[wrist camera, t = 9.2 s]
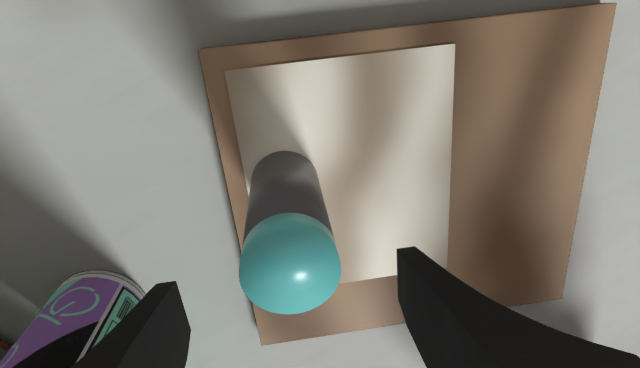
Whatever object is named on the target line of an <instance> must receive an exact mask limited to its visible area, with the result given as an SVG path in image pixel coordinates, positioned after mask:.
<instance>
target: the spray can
mask: <svg viewBox="0 0 640 368" xmlns="http://www.w3.org/2000/svg"><path fill="white" fill-rule="evenodd" d="M144 296H145V293H144V292H143V290H142V289H141V288H140V287H139V286H138V285H137V284H136V283H134V282H133V281H132V280H130V279H128V278H126V277H124V276H122V275H120V274H117V273H114V272H109V271H103V270H92V271H84V272H81V273H78V274H75V275H73V276H71V277H69V278H68V279H66V280H65V281H64V282H63V283H62V284H61V285H60V286H59V287H58V288H57V289H56V291H55V292H54V293H53V295H52V296H51V297H50V298H49V300H48V301H47V302H46V304H45V305H44V306H43V307H42V309H41V310H40V311H39V313H38V314H37V315H36V316H35V318H34V319H33V320H32V322H31V323H30V324H29V325H28V327H27V328H26V329H25V331H24V332H23V333H22V334H21V336H20V337H19V338H18V340H17V341H16V342H15V343H14V345H13V346H12V347H11V349H10V350H9V351H8V352H7V354H6V355H5V356H4V358H3V359H2V360H1V361H0V368H71V367H72V366H73V365H74V364H75V363H76V362H78V361H79V360H80V359H81V358H82V357H83V356H84V355H86V354H87V353H88V352H89V351H90V350H91V349H92V348H93V347H94V346H95V345H96V344H97V343H98V342H99V341H100V340H101V339H103V338H104V337H105V336H106V335H107V334H108V333H109V332H110V331H111V330H112V329H113V328H114V327H115V326H116V325H117V324H118V323H119V322H120V321H121V320H122V319H123V318H124V317H125V316H126V315H127V314H128V313H129V312H130V311H131V310H132V309H133V308H134V306H135V305H136V304H137V303H138V302H139V301H140V300H141V299H142V298H143V297H144Z"/></svg>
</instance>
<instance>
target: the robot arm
mask: <svg viewBox="0 0 640 368" xmlns="http://www.w3.org/2000/svg"><path fill="white" fill-rule="evenodd" d="M397 285H398V300H399V303H400V307H401V310H402V313H403V316H404V319H405V322H406V325H407V327H408V329H409V331H410V333H411V336H412V338H413V340H414V342H415V344H416V346H417V348H418V350H419V352H420V355H421V357H422V359H423V361H424V363H425V365H426V367H427V368H640V358H639V357H638V356H637V355H634V354H631V353H627V352H624V351H620V350H617V349H613V348H610V347H606V346H603V345H599V344H596V343H593V342H589V341H586V340H584V339H581V338H578V337H575V336H572V335H569V334H566V333H564V332H561V331H558V330H556V329H553V328H551V327H548V326H546V325H543V324H541V323H539V322H536V321H534V320H532V319H529V318H527V317H525V316H523V315H521V314H519V313H516V312H514V311H512V310H511V309H509V308H507V307H505V306H503V305H501V304H499V303H497V302H495V301H493V300H492V299H490V298H488V297H486V296H485V295H483V294H481V293H480V292H478V291H477V290H475V289H473V288H472V287H470V286H469V285H467V284H466V283H464V282H463V281H461V280H460V279H458V278H457V277H455V276H454V275H452V274H451V273H450V272H448V271H447V270H445V269H444V268H443V267H441V266H440V265H439V264H437V263H436V262H435V261H433V260H432V259H431V258H430V257H428V256H427V255H426V254H424V253H423V252H422V251H420V250H419V249H418V248H416V247H415V246H413V247H406V248H399V249H397ZM190 332H191V329H190V326H189V322H188V319H187V316H186V313H185V309H184V306H183V303H182V300H181V296H180V293H179V290H178V286H177V283H176V281H173V282H166V283H159V284H156V285H155V286H154V287H153V288H152V289H151V290H150V291H149V292H148V293H147V294H146V295H145V296H144V297H143V298H142V299H141V300H140V301H139V302H138V303H137V304H136V305H135V306H134V308H133V309H132V310H131V311H130V312H129V313H128V314H127V315H126V316H125V317H124V318H123V319H122V320H121V321H120V322H119V323H118V324H117V325H116V326H115V327H114V328H113V329H112V330H111V331H110V332H109V333H108V334H107V335H106V336H105V337H104V338H103V339H101V340H100V341H99V342H98V343H97V344H96V345H95V346H94V347H93V348H92V349H91V350H90V351H89V352H88V353H87V354H86V355H84V356H83V357H82V358H81V359H80V360H79V361H78V362H76V363H75V364H74V365H73V366H72V367H71V368H185V365H186V361H187V355H188V348H189V340H190Z"/></svg>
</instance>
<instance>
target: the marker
mask: <svg viewBox="0 0 640 368" xmlns="http://www.w3.org/2000/svg"><path fill="white" fill-rule="evenodd" d="M340 278H341V263H340V258H339V255H338V251H337V247H336V243H335V240H334V236H333V232H332V228H331V224H330V221H329V217H328V213H327V209H326V206H325V202H324V198H323V194H322V190H321V187H320V183H319V179H318V175H317V172H316V169H315V167H314V166H313V164H312V163H311V162H310V161H309V160H308V159H307V158H306V157H304V156H303V155H301V154H299V153H296V152H292V151H278V152H274V153H271V154H269V155H267V156H266V157H264V158H263V159H262V160H260V162H259V163H258V164H257V165H256V167H255V169H254V171H253V173H252V178H251V185H250V193H249V200H248V208H247V216H246V223H245V231H244V238H243V246H242V253H241V261H240V268H239V279H240V284H241V287H242V289H243V291H244V293H245V294H246V296H247V297H248V298H249V299H250V300H251V301H252V302H253V303H254V304H255V305H257V306H259V307H260V308H262V309H264V310H266V311H269V312H273V313H277V314H298V313H303V312H306V311H310V310H312V309H314V308H316V307H318V306H320V305H321V304H323V303H324V302H325V301H326V300H327V299H329V298H330V297H331V295H332V294H333V293H334V291H335V290H336V288H337V286H338V284H339V281H340Z"/></svg>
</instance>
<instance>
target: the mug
mask: <svg viewBox="0 0 640 368" xmlns="http://www.w3.org/2000/svg"><path fill="white" fill-rule="evenodd" d="M10 349H11V346H10V345H8V344H7V343H5V342H3V341H1V340H0V361H1V360H2V359H3V358H4V356H5V355H6V354H7V352H8V351H9V350H10Z"/></svg>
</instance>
